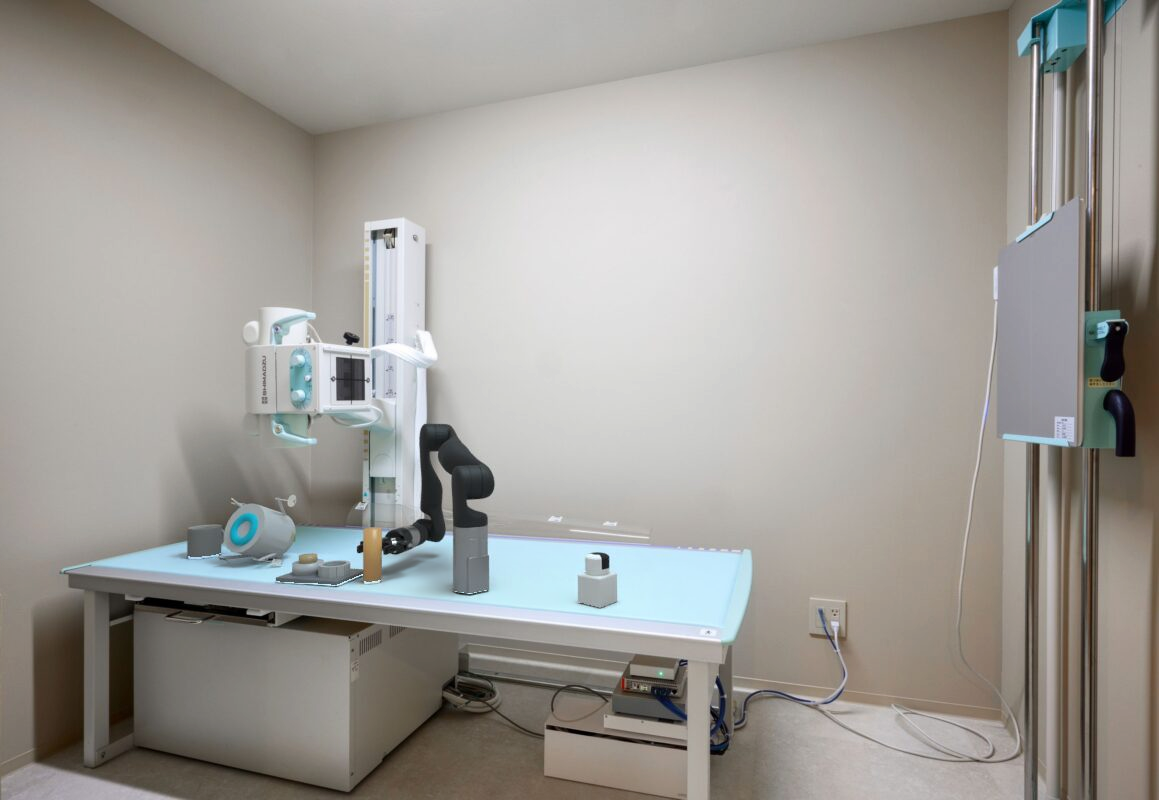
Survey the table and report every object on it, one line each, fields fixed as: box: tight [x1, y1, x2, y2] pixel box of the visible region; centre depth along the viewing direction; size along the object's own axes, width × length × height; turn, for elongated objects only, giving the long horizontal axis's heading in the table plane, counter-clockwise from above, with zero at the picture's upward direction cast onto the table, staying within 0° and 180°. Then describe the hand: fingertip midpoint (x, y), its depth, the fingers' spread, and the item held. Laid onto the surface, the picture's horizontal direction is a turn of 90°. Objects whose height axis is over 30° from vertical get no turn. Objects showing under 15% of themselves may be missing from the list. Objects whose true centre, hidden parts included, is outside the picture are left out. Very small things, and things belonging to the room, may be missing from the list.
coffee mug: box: [186, 523, 225, 557], centre depth 206 cm, size 13×10×10 cm
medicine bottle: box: [577, 551, 618, 609], centre depth 148 cm, size 7×7×12 cm
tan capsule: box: [362, 526, 383, 582], centre depth 169 cm, size 5×5×15 cm
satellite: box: [217, 494, 297, 567], centre depth 197 cm, size 23×20×25 cm
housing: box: [275, 553, 363, 585], centre depth 173 cm, size 20×14×6 cm
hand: (371, 550), depth 169 cm, fingers open, 8 cm apart
